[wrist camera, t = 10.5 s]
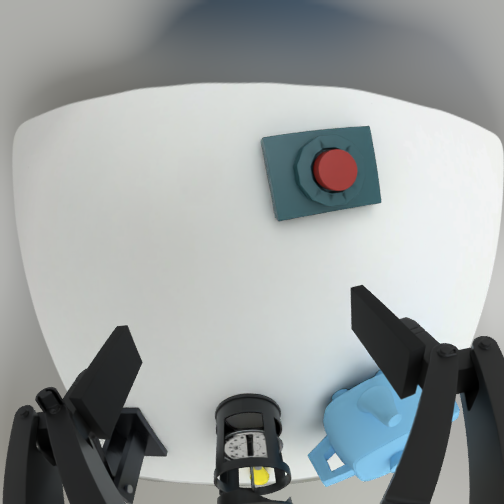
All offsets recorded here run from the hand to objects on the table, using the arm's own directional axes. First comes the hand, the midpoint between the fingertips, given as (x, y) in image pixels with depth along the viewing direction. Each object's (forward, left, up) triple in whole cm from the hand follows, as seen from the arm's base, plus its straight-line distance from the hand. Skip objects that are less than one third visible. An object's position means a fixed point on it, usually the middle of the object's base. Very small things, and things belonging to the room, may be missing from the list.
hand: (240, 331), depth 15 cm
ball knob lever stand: (+26, -24, -15) cm, 38 cm away
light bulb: (+40, -5, -15) cm, 43 cm away
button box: (-7, +10, -15) cm, 19 cm away
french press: (+24, -4, -15) cm, 28 cm away
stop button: (-7, +10, -11) cm, 17 cm away
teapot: (+25, +14, -15) cm, 32 cm away
